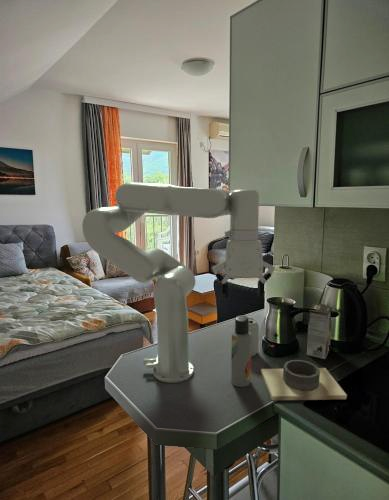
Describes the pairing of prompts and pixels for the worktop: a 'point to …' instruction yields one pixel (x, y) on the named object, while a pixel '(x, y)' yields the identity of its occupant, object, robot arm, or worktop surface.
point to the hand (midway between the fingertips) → (242, 296)
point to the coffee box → (319, 330)
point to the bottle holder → (301, 382)
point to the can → (254, 335)
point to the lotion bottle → (241, 352)
